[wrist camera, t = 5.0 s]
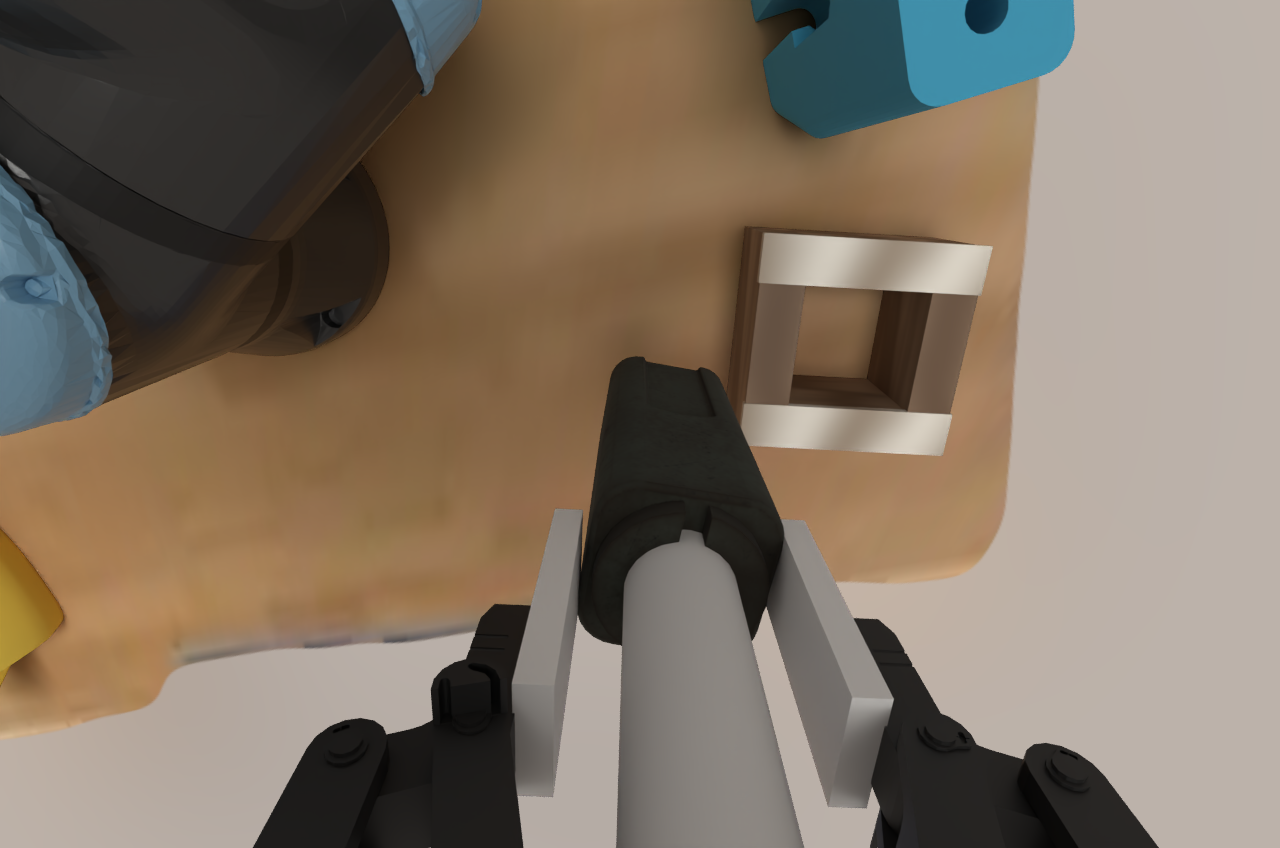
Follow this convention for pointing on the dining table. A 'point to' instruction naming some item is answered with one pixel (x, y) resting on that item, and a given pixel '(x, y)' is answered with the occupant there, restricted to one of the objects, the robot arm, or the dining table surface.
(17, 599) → the teapot
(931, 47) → the block
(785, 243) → the holder
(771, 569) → the grey and black rod
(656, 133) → the dining table surface
